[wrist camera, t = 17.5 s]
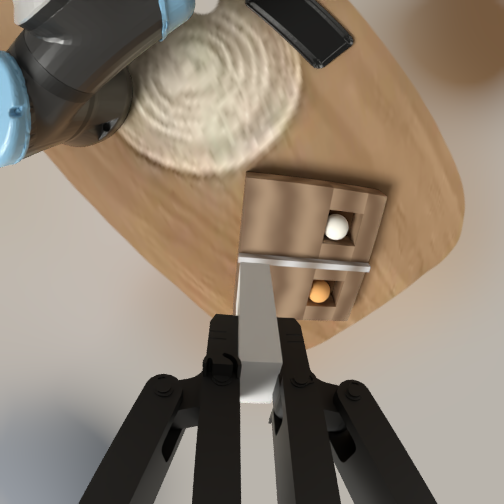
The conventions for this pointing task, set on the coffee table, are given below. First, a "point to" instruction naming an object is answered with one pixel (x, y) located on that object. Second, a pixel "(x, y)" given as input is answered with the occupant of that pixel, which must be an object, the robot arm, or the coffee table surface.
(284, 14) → the phone
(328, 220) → the cream ball
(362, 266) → the putting board
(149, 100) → the coffee table surface
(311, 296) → the orange ball
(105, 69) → the robot arm
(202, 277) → the coffee table surface
